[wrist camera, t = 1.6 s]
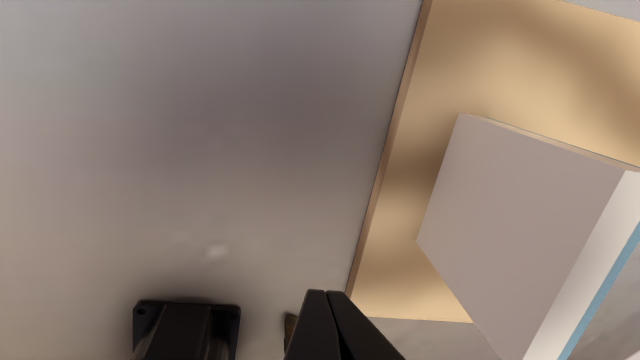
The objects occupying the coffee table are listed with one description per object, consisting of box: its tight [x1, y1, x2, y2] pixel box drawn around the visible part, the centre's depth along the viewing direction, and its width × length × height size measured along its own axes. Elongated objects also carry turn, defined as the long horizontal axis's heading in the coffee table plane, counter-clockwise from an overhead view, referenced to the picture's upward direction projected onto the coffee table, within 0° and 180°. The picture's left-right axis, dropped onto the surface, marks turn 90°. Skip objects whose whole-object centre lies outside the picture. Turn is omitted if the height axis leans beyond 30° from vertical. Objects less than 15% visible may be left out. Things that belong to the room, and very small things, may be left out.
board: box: [345, 0, 640, 323], centre depth 20 cm, size 20×16×1 cm
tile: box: [416, 112, 640, 360], centre depth 15 cm, size 8×2×9 cm, turn 169°
